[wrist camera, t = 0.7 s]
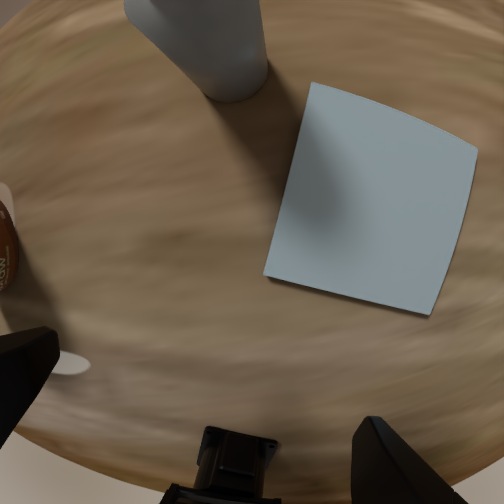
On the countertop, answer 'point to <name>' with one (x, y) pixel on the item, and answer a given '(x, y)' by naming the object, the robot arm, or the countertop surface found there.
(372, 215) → the coaster
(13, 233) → the food container
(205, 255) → the countertop surface
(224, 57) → the grey tall rounded piece
